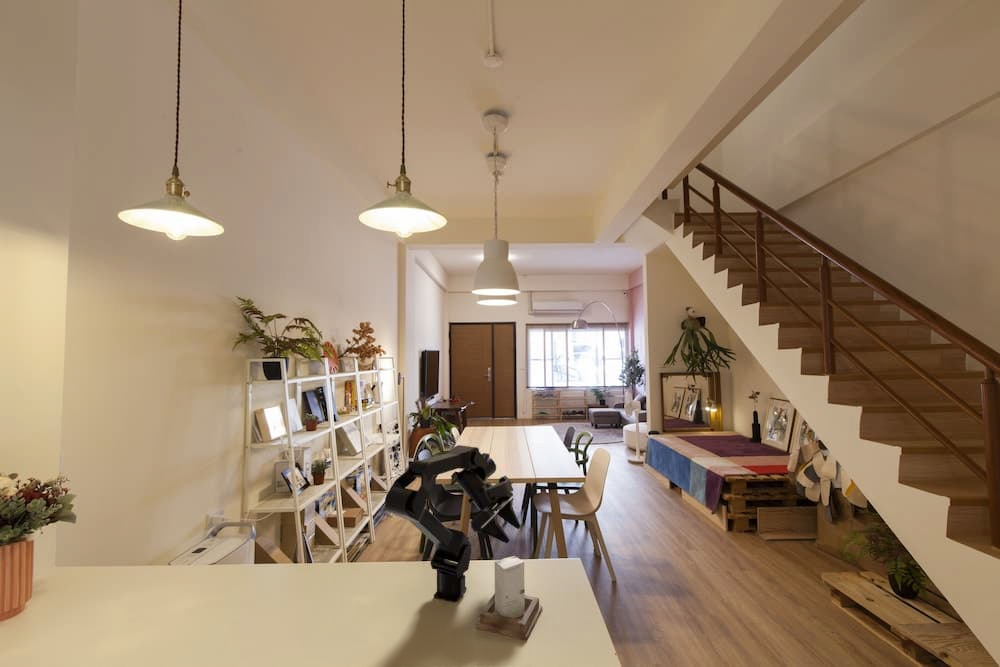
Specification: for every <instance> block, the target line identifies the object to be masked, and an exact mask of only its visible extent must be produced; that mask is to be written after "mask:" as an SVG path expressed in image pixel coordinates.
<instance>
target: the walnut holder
mask: <svg viewBox="0 0 1000 667" xmlns="http://www.w3.org/2000/svg"><path fill="white" fill-rule="evenodd" d="M542 610H543V605H541V604H540V598H539V597H536V596H532V595H526V594H525V614H524V615H522V616H520V617H517V618H515V619H514V618H509V617H505V616H501V615H497V614H495V593H493V595H492V596H491V598H490V599H489V600H488V602H487V604H485V606H484V607H483V609H482V610H481V612H480V613H479V620H477V623H476V628H477V629H481V630H484V631H489V632H493V633H497V634H500V635H504V636H509V637H513V638H517V639H521V640H525V641H527V640H528V639H529V637H530V635H531V633H532V631H533V628H534V627H535V625H536V622H537V620H538V619H539V617H540V614H541V612H542Z"/></svg>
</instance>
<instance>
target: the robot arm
mask: <svg viewBox="0 0 1000 667" xmlns="http://www.w3.org/2000/svg"><path fill="white" fill-rule="evenodd" d="M458 469H460V471H454V470H458ZM496 470H497V464H496V462H495V461H494V460H493V458H492V457H490V454H489V453H485V452H482V453H481V452H480V449H479V447H476V446H468V445H462V444H460V445H459V444H457V445H455V446H453V447H451V449H450V450H449V451H448V452H447V453H444V454H439V455H435V456H432V457H429V458H424V459H420V460H419V459H418V460H417V459H416V460H414V461H412V462H411V463H410V465H409V467H408V468H407V470H405V472H403V473H402V474H401V475H400V476H399V477H398V478H396V479H395V480H394V481H393V484H392V485H391V487H390V489H389V490H388V492H387V493H386V496H385V498H384V508H385V510H386V511H387V512H388V513H390V514H392V515H395V517H396V516H397V517H399V518H401V519H404V520H407V521H409V522H410V523H411V524H412V525H413V526H414V527H415V528H416V529H418V530H419V531H420V532H421V533H422V534H423V535H424V536H425V537H427V538H428V539H429V540H430V541H431V542H432V543H433V544H435V546H434V548H435V549H434V554H433V555H432V558H431V560H430V562H429V564H430V567H431V569H432V570H435V571H436V591H435V593H434V594H433V598H435V599H439V600H443V599H444V600H443V601H448V602H449V601H450V602H451V603H453V602H454V603H456V602H458V600H459V599H460V598H461V597H462V596H463V594H464V593H465V592H466V591H467V586H466V575H465V574H464V573H466V572H467V571H468V570H469V568H470V561H471V556H472V544H471V542H470V537H469V536H467V535H466V534H465V532H463V531H461V530H458V529H454V528H450V527H447V526H445V525H444V524H443V523H442V522H441V520H439V519H438V518H437V517H436V516H435V515H434V514H433V513H432V512H431V511H430V510H428V507H427V499H428V498H429V496H430V492H431V480H432V479H433V477H435V476H439V475H441V474H446V473H447V472H451V471H454V472H453V473H452V474H451V475H450V476H451V477H450V478H451V480H450V486H454V485H456V484H457V485H458V486H459V487H460V488H461V489H462V491H463V492H464V494H466V496H468V498H469V499H468V500H467V502H468V503H469V504H472V503H473V504H474V505H475V506H476V508H477V509H478V510H479V511H478V512H477V515H476V516H475V517H474V518H473V519H472V520H470V528H471V530H472V531H474V533H477V532H478V533H479V534H484V535H488V536H490V537H492V538H494V539H496V540H498V541H500V542H503V543H505V544H508V543H510V540H511V539H509V537H508V535H507V534H506V532H505V530H504V528H502V526H501V525H500V523H499V520H498V516H499V517H500V518H501V519H503V520H504V521H505V522H506V523H508V524H509V525H511V526H512V527H514V528H515V529H517V530H519V529H520V528H521V526H522V525H521V524H520V521H519V519H518V517H517V515H516V512H515V510H514V507H513V506H514V505H513V504H514V503H513V502H514V497H513V496H514V493H513V492H514V488H513V486H512V485H513V481H512V480H511V479H510V478H509V477H508V476H506V475H503V476H501V477H500V478H499V479H498V483H496V484H492V483H491V482H487V483H486V482H485V481H486V480H488V478H490V477H491V476H493V475H494V474H495V473H496ZM417 478H418V479H421V480H420V486H419V488H418V489H417V490H416V489H411V488H407V487H408V486H410V484H412V483H413V482H414V481H415V480H417ZM495 512H496V514H495Z"/></svg>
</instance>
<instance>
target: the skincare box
mask: <svg viewBox="0 0 1000 667" xmlns="http://www.w3.org/2000/svg"><path fill="white" fill-rule="evenodd" d="M494 594H495V614H497V615H501V616H505V617H509V618H514V619H515V618H517V617H520V616H522V615H524V614H525V595H526V594H525V561H524V560H522V559H520V558H519V557H517V556H516V555H513V556H508V557H504V558H502V559H499V560H496V561H494Z"/></svg>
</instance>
